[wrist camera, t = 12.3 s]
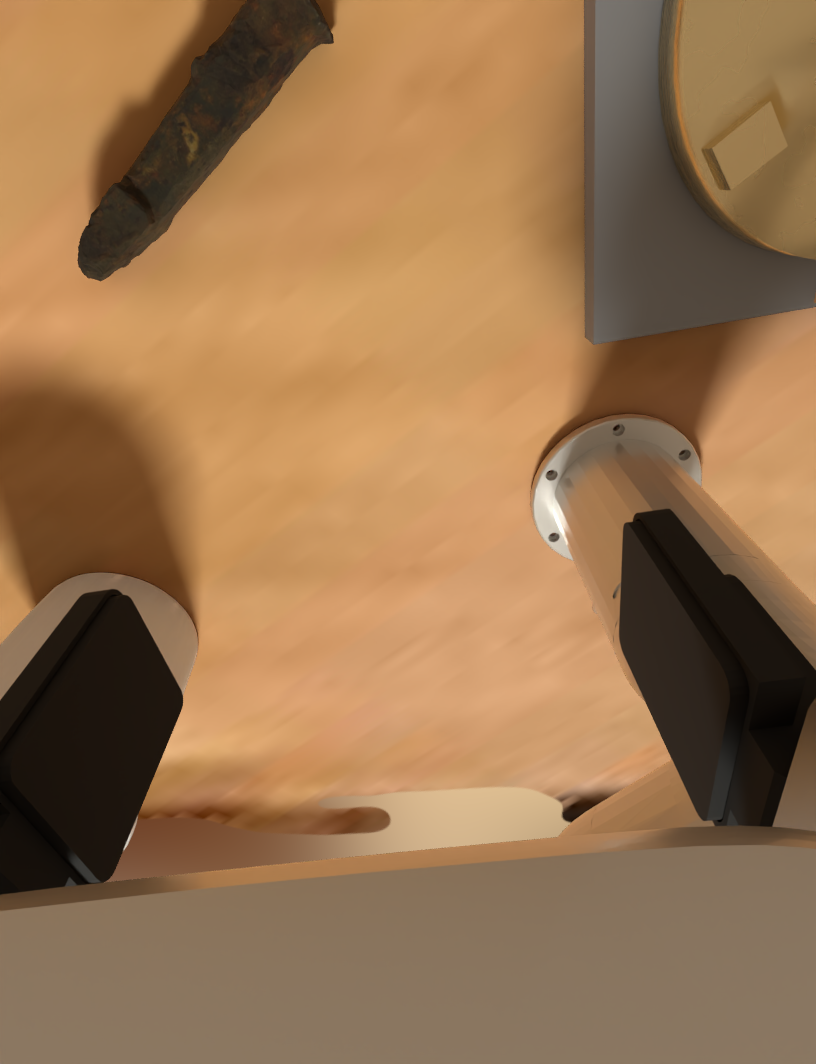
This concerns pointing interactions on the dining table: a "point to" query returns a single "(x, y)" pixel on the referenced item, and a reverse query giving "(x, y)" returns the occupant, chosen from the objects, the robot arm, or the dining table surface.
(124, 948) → the robot arm
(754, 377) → the dining table surface
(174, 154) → the hand tool
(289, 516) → the dining table surface
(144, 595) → the utensil holder
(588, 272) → the base plate
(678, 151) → the beige piece
